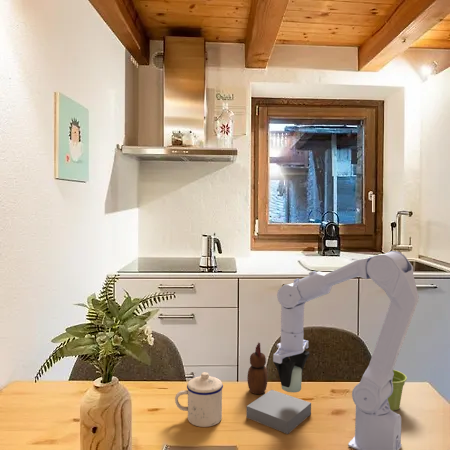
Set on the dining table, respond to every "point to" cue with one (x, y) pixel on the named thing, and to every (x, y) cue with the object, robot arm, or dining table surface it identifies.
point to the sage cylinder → (294, 380)
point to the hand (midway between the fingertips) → (291, 382)
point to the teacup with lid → (203, 400)
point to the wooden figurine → (257, 372)
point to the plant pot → (396, 390)
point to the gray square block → (279, 411)
